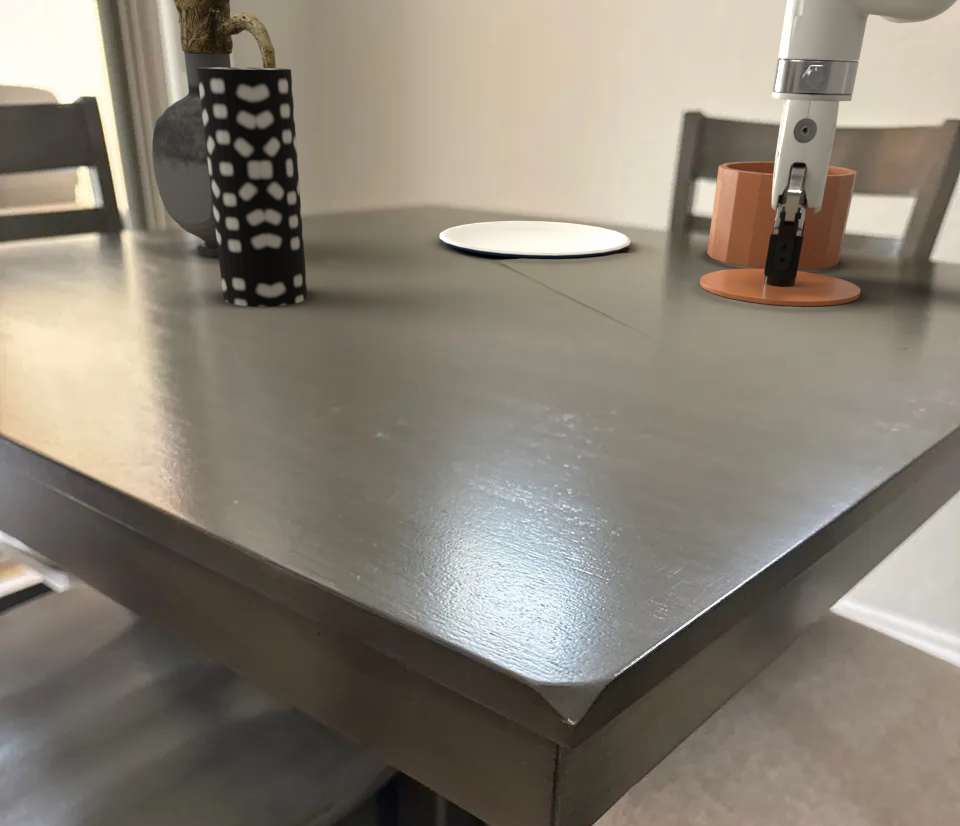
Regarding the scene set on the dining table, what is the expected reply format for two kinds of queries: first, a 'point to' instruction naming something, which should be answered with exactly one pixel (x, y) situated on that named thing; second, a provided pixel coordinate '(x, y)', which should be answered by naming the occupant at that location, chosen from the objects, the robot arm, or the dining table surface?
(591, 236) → the plate
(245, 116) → the white-spotted black cylinder
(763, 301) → the lid
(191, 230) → the pitcher
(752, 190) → the pot
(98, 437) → the dining table surface
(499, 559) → the dining table surface
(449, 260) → the dining table surface
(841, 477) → the dining table surface
